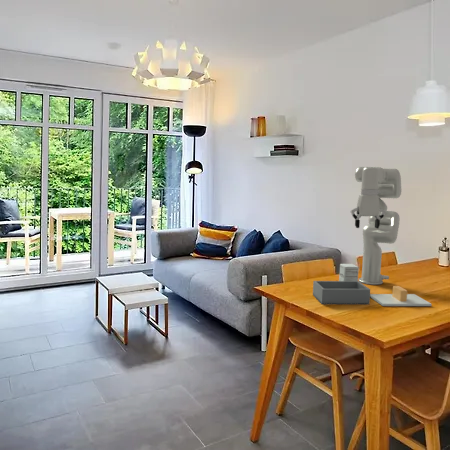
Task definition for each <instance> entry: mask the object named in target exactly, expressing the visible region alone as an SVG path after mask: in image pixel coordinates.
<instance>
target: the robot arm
mask: <svg viewBox="0 0 450 450" xmlns="http://www.w3.org/2000/svg"><path fill="white" fill-rule="evenodd" d="M400 172H401V171H400V170H398V169H397V168H383V167H379V166H375V167H374V166H358V167H357V168H356V169H355V172H354V178H355V181H356V182H359V183H361V188H360V190H361V191H360V192H361V193H360V195H358V199H357V202H356V203H357V204H356V207H355V208H353V209H351V210H350V213H351V216H352V218H354V222H355V223H354V226H355V228H357V229H360V226H361V225H360V224H361V223H360V222H361V220H360V219H361V217H368V224H365V225H364V226H363V228H362V238H363V240H362V241H363V243H362V244H363V250H362V251H363V252H362V265H361V266H362V269H361V277H358V281H359V282H360V283H362V284H363V285H372V286H373V285H374V286H376V285H382V284H383V283H384V281H383V280H389V279H390V275H385V274H381V272H382V271H381V269H382V255H383V251H382V249H381V246H380V245H379V244H389V245H390V244H394V243H396V241H397V240H398V239H397V238H398V234H399V233H398V232H399V227H400V214H399V213H398V211H397V212H396V211H394V210H388V205H387V204H386V202H385V201H384V200H383V199H399V198H400V196H401V195H402V178H401V173H400Z"/></svg>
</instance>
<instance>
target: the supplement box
mask: <svg viewBox="0 0 450 450" xmlns="http://www.w3.org/2000/svg"><path fill="white" fill-rule="evenodd" d="M338 281H359V266H357V265H355V264H354V263H340V264H339V276H338Z"/></svg>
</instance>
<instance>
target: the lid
mask: <svg viewBox="0 0 450 450" xmlns="http://www.w3.org/2000/svg"><path fill="white" fill-rule="evenodd" d="M370 299H372V300H374V301H375V302H376V303H378V304H379V305H381V306H382V307H432V303H431V302H429V301H427V300H425V299H424V298H422V297H420V296H418V295H417V294H415V293H408V290H407V289H405V288H403V287H401V286H399V285H393V286H392V293H370Z"/></svg>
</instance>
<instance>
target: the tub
mask: <svg viewBox="0 0 450 450" xmlns="http://www.w3.org/2000/svg"><path fill="white" fill-rule="evenodd" d="M312 284H313V285H312V296H313V297H314V298H315V299H316V300H317V302H319V303H320V304H321V305H370V301H371V300H370V299H371V297H370V294H371V288H369V287H368V286H366V284H364V283H361V282H359V280H358V281H339V280H313V283H312Z"/></svg>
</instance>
